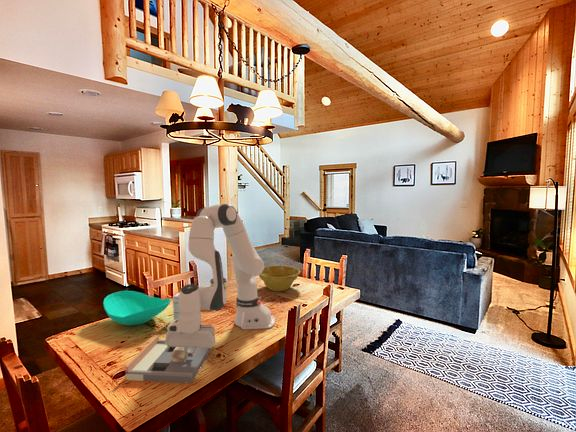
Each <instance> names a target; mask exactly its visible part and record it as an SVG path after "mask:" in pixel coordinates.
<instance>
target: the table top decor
mask: <svg viewBox="0 0 576 432" xmlns="http://www.w3.org/2000/svg"><path fill="white" fill-rule="evenodd" d="M171 300H172V299H171V298H159V297H154V296H151V295H147V294H145V293H143V292H138V291H134V290H122V291H121V290H120V291H117V292H113V293H111V294H108V295H107V296H106V297H104V299H103V302H102V304H103V309H104V311H105V313H106V314H107V316H108V318H109V319H110V320H112V321H113V322H116V323H118V324H121V325H125V326H138V325H142V324H145V323H147V322H149V321H150V320H152V319H153V318H155V317H157V316H158V315H159V314H161V313H162V312H163V311H165V310H166V309H167V308H168V307H169V305H170V304H171V302H172V301H171Z"/></svg>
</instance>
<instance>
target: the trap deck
mask: <svg viewBox="0 0 576 432" xmlns="http://www.w3.org/2000/svg"><path fill="white" fill-rule="evenodd" d="M175 348H176V347H168V346H167V345H166V343H165V339H160V338H159V335H155V336H154V337H153V338H152V339H151V340H150V341H149V343H148V344H146V345H145V346H144V347H143V349H141V351H139V352H138V353H137V354H136V355H135V356H134V357H133V358H132V359H131V360H130V361H129V362H128V363H127V364H126V365H125V367H124V368H125V369H124V370H125V380H126V381H137V382H139V381H141V382H142V381H143V382H157V383H158V382H161V383H177V382H179V383H180V382H183V383H182V384H192V383H193V382H194V380H195V378H196V377H197V375H198V374H199V371H200V370H201V368H202V366H203V365H204V362H205V361H206V359H207V357H208V356H209V354H210V353H211V351H212V348H213V347H212V348H197V349H196V350H195V355H194V357H187V358H186V360H185V361H184V362H173V361H172V352H173V350H174V349H175ZM189 350H190V351H193V349H192V347H189ZM202 364H203V365H202ZM200 367H201V368H200ZM199 369H200V370H199ZM196 374H197V375H196ZM195 376H196V377H195ZM193 379H194V380H193ZM192 381H193V382H192ZM185 382H187V383H185ZM179 383H178V384H179ZM180 384H181V383H180Z"/></svg>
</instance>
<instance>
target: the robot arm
mask: <svg viewBox="0 0 576 432" xmlns="http://www.w3.org/2000/svg"><path fill="white" fill-rule="evenodd" d="M220 227H221V228H222V229H223V234H224V235H225V236H224V237H225V238H226V241H227V243H228V245H229V248H230V250H231V251H232V253H233V254H232V256H231V258H230V259H231V260H230V262H231V264H232V267H233V270H234V274H235V279H236V292H237V293H236V294H237V295H236V303H235V304H236V305H235V306H236V313H235V318H234V325H235V326H237V327H239V328H241V329H242V330H259V329H261V330H262V329H272V327H274V325H275V323H276V318H275V316H274V315H272V313H271V310H270V308H269V307H267V306H266V305H265V304H264V303H262V297H261V296H259V295H258V281H257V279H256V277H257V276H258V277H259V275H260V274H261V273H262V272H263V270H264V267H265V262H264V261H263V259H262V258H261V257H260V255H259V254H258V252H257V250H256V248H255V247H254V245H253V244H252V241H251V239H250V238H249V235H248V233H247V229H246V227H245V224H244V222H243V220H242V218H241V216H240V214H239V213H238V212H237V210H236V208H235V207H234V205H232V204H230V203H222V204H219V203H218V204H213V205H210V206H206V207H205V206H204V207H203V208H200V209H199V210H198V211H197V213H196V216H195V217H194V218H193V219H192V222H191V225H190V228H189V235H188V252H189V253H190V255H192V256H193V257H194V258H195V259H198V260H200V261H203V262H205V263H206V264H208V265H210V267H211V270H212V271H211V272H212V279H213V281H214V287H211V286H209V287H208V286H199V285H197V284H194V283H190V284H186V285H183V286H182V287H181V288H180V290H179V292H178V293H179V312H180V316H179V319H176V320H174V319H173V320H172V321H171V322H170V323H169V324H168V325H167V327H166V333H165V339H164V340H165V343H166V345H167V346H168V347H184V350H185V351H186V353H187V357H194V355H195V350H196V349H197V348H213V347H214V346H215V345H216V336H215V335H216V329H215V327H214V326H212V325H211V324H202V314H201V310H203V311H204V310H207V311H208V310H209V311H215V312H218V311H221V310H222V309H223V308H224V307H225V306H226V304H227V300H226V298H227V291H226V292H225V287H224V279H223V278H224V271H223V264H222V257H221V254H220V252H219V251H218V250H217V249H216V248H215V247H216V246H215V244H214V241H215V240H214V239H215V229H216V228H217V229H218V228H220ZM188 347H192V349H193V351H190V350H189V348H188Z"/></svg>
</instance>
